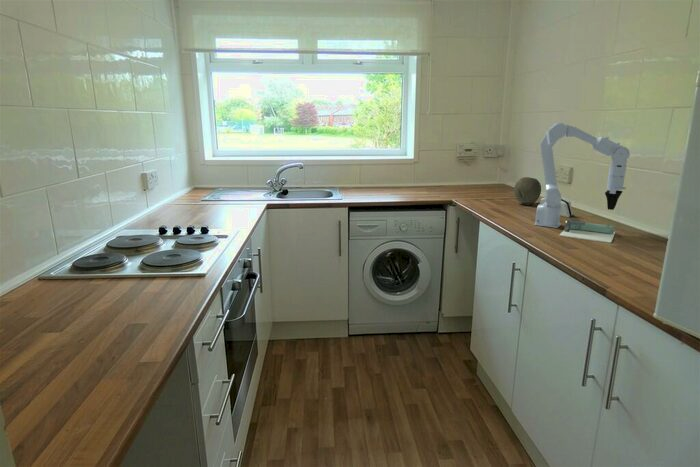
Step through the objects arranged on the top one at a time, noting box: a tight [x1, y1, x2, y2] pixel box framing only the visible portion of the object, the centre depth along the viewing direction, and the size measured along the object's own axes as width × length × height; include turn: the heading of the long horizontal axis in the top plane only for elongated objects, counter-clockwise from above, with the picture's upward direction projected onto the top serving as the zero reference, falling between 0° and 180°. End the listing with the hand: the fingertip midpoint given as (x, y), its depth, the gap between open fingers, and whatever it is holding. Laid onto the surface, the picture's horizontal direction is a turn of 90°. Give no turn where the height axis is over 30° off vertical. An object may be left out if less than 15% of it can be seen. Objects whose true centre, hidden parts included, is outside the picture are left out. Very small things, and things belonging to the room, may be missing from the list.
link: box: [570, 222, 615, 233], centre depth 177 cm, size 17×5×2 cm, turn 54°
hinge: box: [539, 196, 576, 218], centre depth 211 cm, size 17×5×10 cm, turn 25°
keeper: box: [563, 220, 586, 232], centre depth 175 cm, size 7×2×4 cm, turn 67°
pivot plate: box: [559, 217, 616, 244], centre depth 172 cm, size 18×18×5 cm
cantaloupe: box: [513, 176, 542, 206], centre depth 234 cm, size 14×14×15 cm
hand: (611, 208), depth 177 cm, fingers open, 4 cm apart
